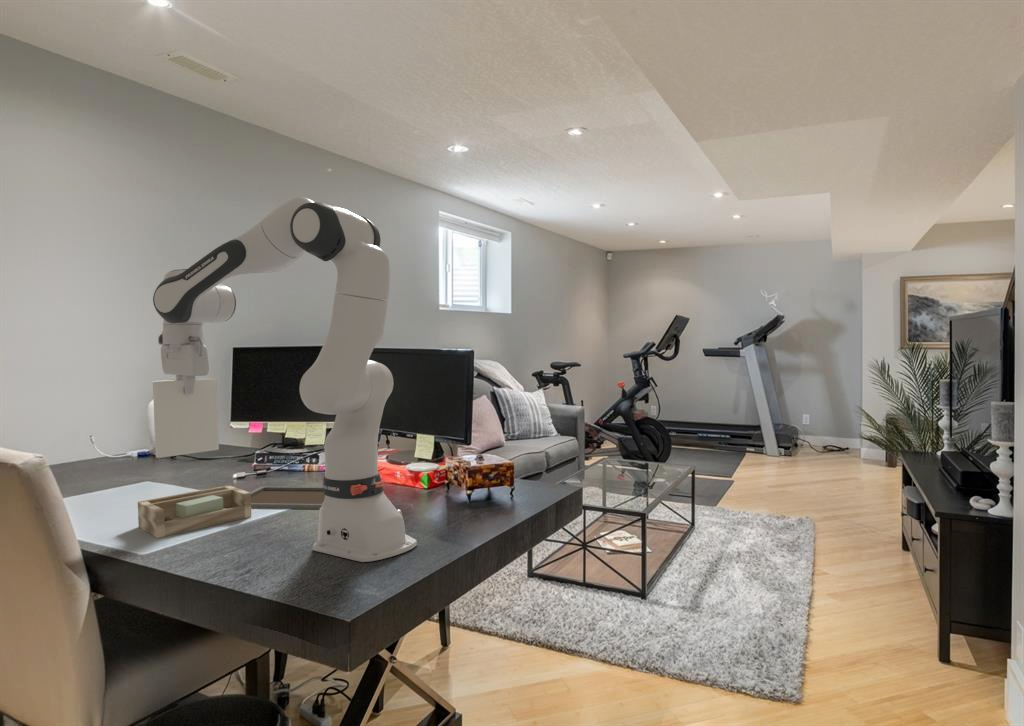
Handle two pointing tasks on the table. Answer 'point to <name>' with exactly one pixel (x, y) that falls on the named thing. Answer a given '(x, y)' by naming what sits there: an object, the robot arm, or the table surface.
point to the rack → (159, 509)
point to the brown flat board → (287, 497)
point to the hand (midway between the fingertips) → (186, 393)
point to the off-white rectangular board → (185, 417)
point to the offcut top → (199, 506)
